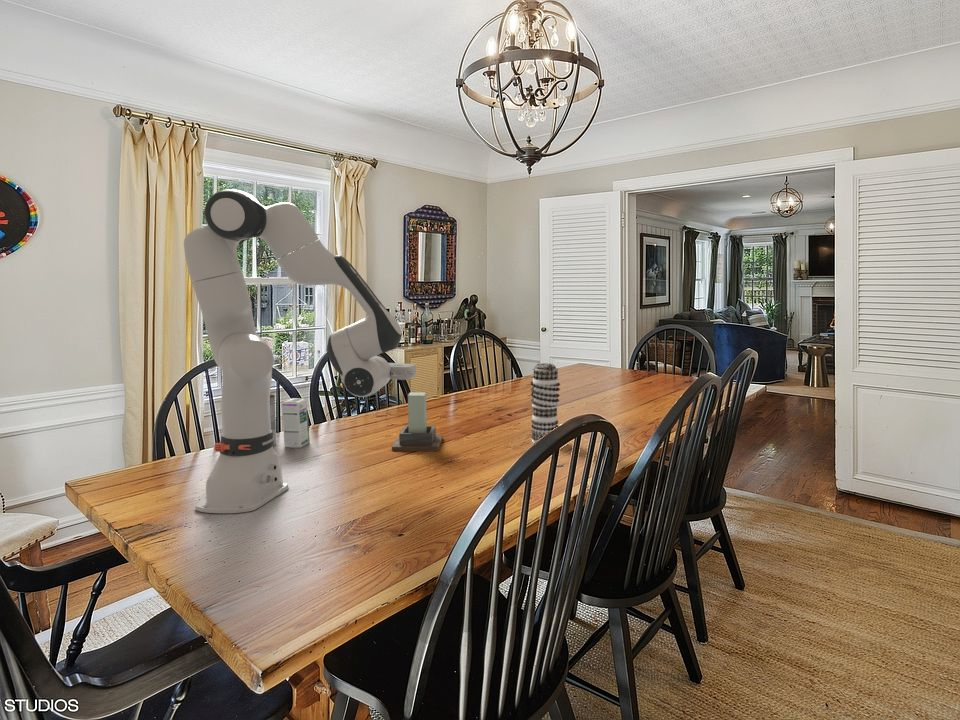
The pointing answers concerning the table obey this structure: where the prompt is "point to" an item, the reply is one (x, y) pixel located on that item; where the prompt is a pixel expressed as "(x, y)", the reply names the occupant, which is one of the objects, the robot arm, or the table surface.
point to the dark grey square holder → (418, 440)
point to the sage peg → (417, 412)
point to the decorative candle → (544, 400)
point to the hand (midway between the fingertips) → (384, 366)
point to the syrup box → (295, 422)
